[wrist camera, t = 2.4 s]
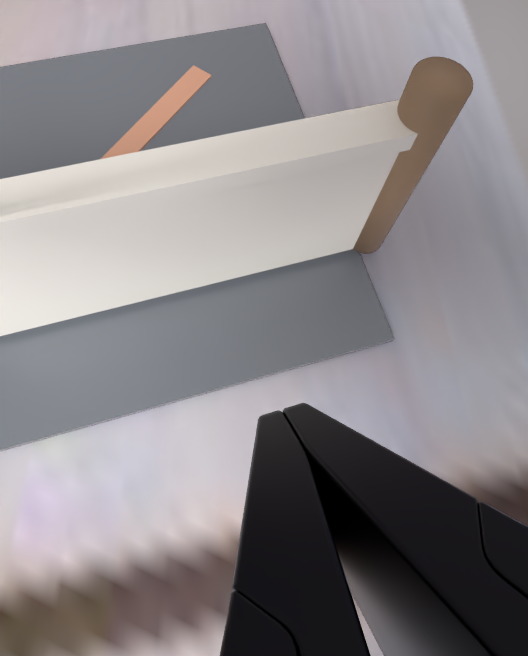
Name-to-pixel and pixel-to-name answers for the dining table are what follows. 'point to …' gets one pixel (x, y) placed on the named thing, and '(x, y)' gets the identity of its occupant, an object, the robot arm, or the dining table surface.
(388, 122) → the white fence panel
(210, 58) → the card
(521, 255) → the dining table surface
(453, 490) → the robot arm
